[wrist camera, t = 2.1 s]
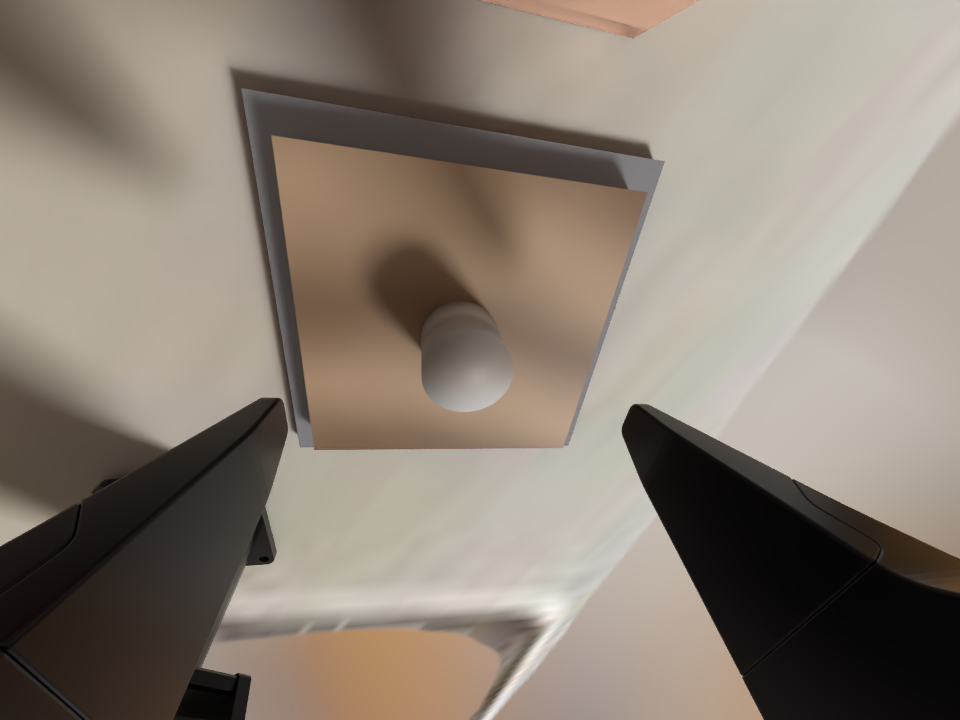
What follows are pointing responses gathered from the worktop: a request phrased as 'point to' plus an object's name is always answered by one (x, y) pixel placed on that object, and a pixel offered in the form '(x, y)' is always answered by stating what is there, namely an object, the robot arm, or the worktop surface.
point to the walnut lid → (445, 295)
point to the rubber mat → (419, 141)
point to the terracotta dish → (603, 12)
